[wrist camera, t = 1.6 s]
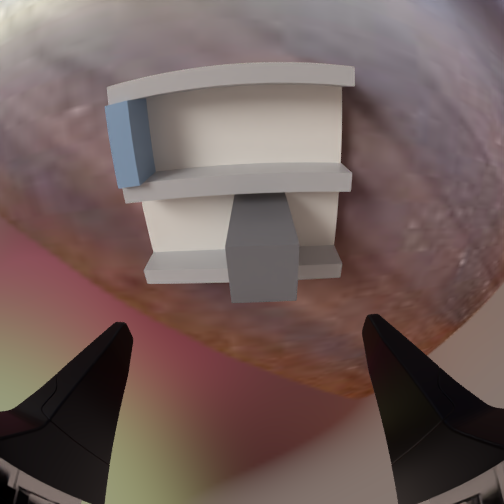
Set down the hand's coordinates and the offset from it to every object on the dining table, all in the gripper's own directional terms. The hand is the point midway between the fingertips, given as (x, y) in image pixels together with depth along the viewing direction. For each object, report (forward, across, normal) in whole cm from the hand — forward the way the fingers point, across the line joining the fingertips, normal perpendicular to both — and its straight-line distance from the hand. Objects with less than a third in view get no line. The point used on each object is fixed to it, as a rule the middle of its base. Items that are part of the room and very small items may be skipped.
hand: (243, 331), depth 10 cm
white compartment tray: (+12, +1, -2) cm, 13 cm away
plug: (+11, -1, +1) cm, 11 cm away
